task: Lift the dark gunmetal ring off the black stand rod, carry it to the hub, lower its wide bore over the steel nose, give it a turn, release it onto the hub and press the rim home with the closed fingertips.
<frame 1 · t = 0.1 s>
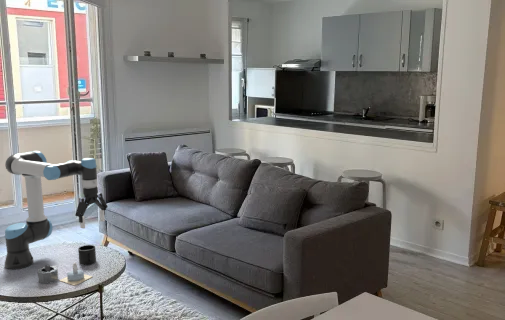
hand: (92, 224, 264), 28 cm above the table, fingers open, 13 cm apart
hub: (75, 279, 261), on the table
stand: (48, 279, 260), on the table
black cup: (88, 263, 283), on the table
ring: (48, 279, 260), on the table
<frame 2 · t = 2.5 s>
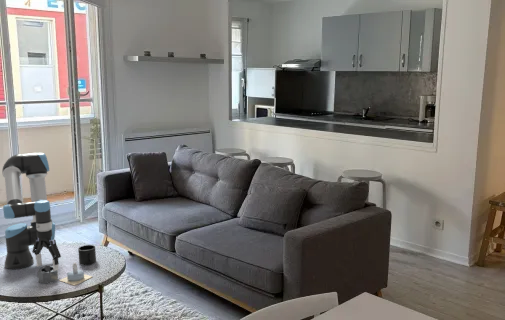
hand: (47, 268, 258), 7 cm above the table, fingers open, 13 cm apart
nothing on the table moved.
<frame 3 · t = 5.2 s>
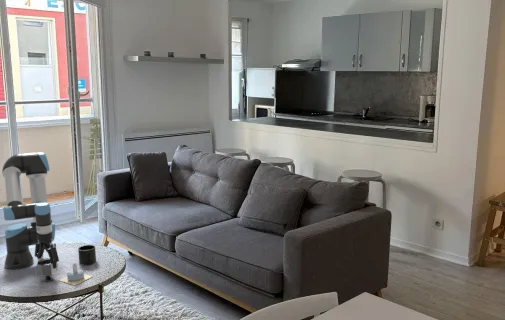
hand: (47, 271, 260), 5 cm above the table, fingers closed on ring, 9 cm apart
ring: (47, 272, 260), point 4 cm above the table, touching gripper
everything else where it was.
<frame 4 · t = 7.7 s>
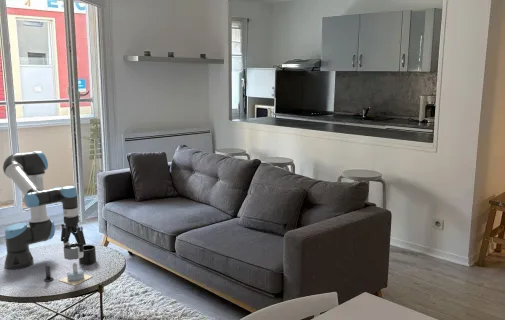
hand: (74, 255, 258), 13 cm above the table, fingers closed on ring, 9 cm apart
ring: (74, 256, 258), point 13 cm above the table, touching gripper
everything else where it was.
when the fingers open (6 cm above the table, at t = 10.5 s): ring drops 2 cm, resting on hub.
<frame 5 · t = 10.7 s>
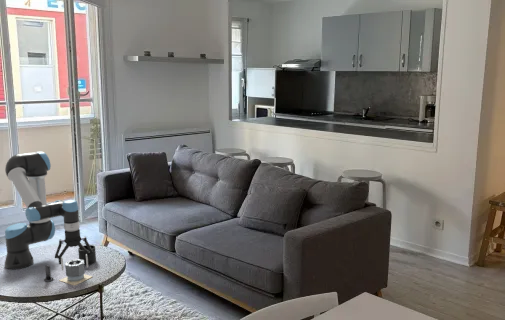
hand: (75, 268, 260), 6 cm above the table, fingers open, 12 cm apart
ring: (75, 273, 260), point 3 cm above the table, touching hub
everything else where it was.
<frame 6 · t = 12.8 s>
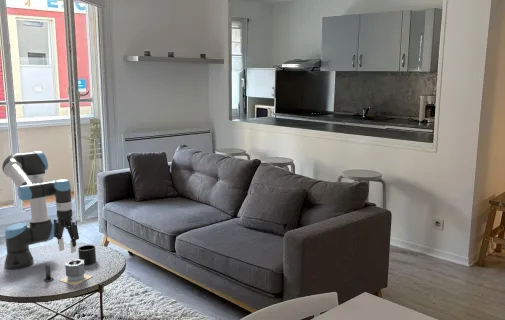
hand: (67, 251, 255), 17 cm above the table, fingers open, 7 cm apart
nothing on the table moved.
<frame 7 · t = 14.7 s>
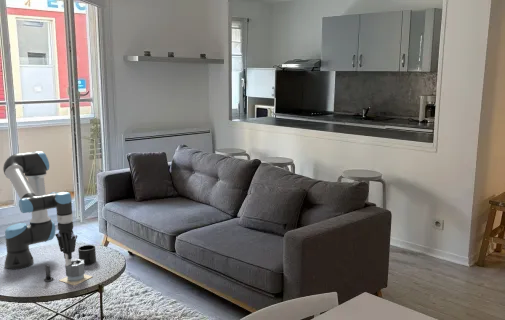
hand: (68, 264, 256), 10 cm above the table, fingers closed
ring: (75, 273, 260), point 3 cm above the table, touching gripper, hub
everything else where it was.
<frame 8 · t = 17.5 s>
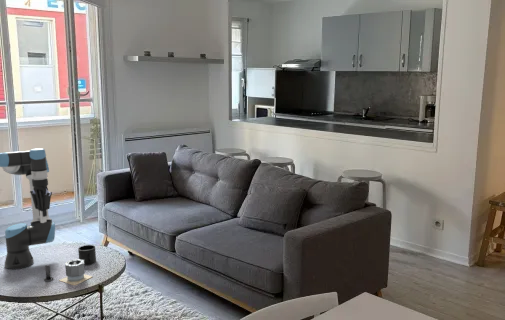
hand: (43, 222, 254), 32 cm above the table, fingers closed
ring: (75, 273, 260), point 3 cm above the table, touching hub
everything else where it was.
at the end: ring 0.0 cm off-centre on the hub, point 3.4 cm above the hub's base; ring tilted 0°; the gripper is holding nothing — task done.
